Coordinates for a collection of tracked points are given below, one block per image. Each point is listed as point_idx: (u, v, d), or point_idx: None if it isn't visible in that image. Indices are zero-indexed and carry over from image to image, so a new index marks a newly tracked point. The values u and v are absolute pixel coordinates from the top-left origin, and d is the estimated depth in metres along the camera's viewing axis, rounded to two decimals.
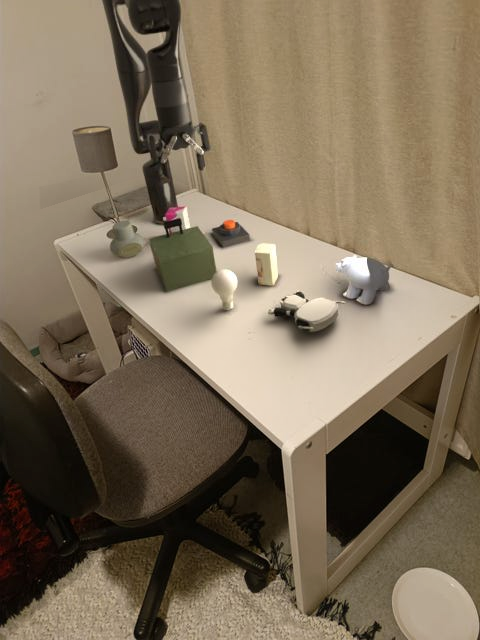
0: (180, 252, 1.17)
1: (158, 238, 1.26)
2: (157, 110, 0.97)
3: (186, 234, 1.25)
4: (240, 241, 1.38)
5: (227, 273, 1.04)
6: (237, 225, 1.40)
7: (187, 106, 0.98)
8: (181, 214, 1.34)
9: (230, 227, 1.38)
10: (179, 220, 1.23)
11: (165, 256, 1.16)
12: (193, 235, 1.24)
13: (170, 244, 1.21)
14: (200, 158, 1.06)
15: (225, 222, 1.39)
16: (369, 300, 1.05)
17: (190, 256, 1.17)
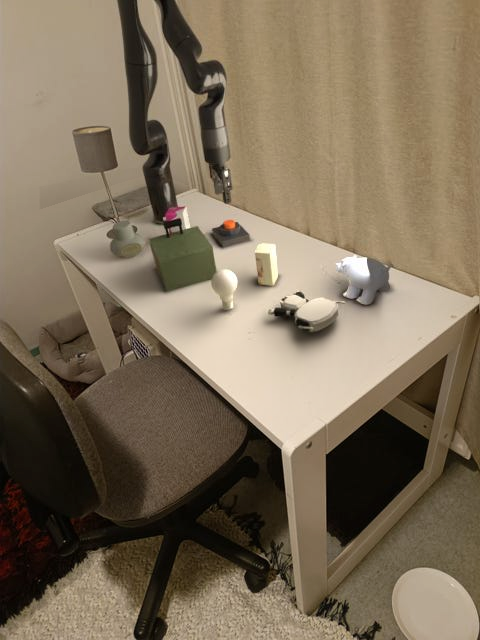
0: (180, 252, 1.17)
1: (158, 238, 1.26)
2: None
3: (186, 234, 1.25)
4: (240, 241, 1.38)
5: (227, 273, 1.04)
6: (237, 225, 1.40)
7: (211, 151, 1.21)
8: (181, 214, 1.34)
9: (230, 227, 1.38)
10: (179, 220, 1.23)
11: (165, 256, 1.16)
12: (193, 235, 1.24)
13: (170, 244, 1.21)
14: (222, 193, 1.28)
15: (225, 222, 1.39)
16: (369, 300, 1.05)
17: (190, 256, 1.17)
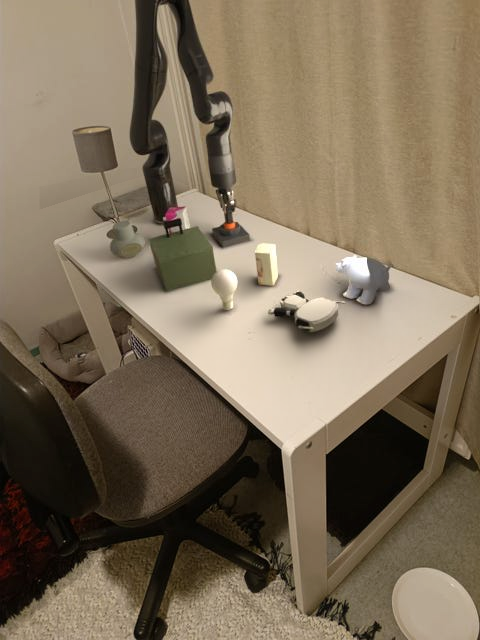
0: (180, 252, 1.17)
1: (158, 238, 1.26)
2: None
3: (186, 234, 1.25)
4: (240, 241, 1.38)
5: (227, 273, 1.04)
6: (237, 225, 1.40)
7: (218, 176, 1.27)
8: (181, 214, 1.34)
9: (230, 228, 1.39)
10: (179, 220, 1.23)
11: (165, 256, 1.16)
12: (193, 235, 1.24)
13: (170, 244, 1.21)
14: (225, 215, 1.37)
15: (225, 223, 1.39)
16: (369, 300, 1.05)
17: (190, 256, 1.17)
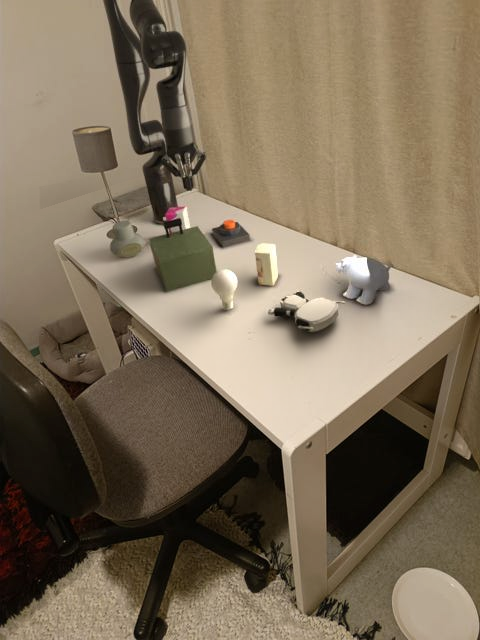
0: (180, 252, 1.17)
1: (158, 238, 1.26)
2: (164, 131, 1.13)
3: (186, 234, 1.25)
4: (240, 241, 1.38)
5: (227, 273, 1.04)
6: (237, 225, 1.40)
7: (188, 130, 1.12)
8: (181, 214, 1.34)
9: (230, 227, 1.38)
10: (179, 220, 1.23)
11: (165, 256, 1.16)
12: (193, 235, 1.24)
13: (170, 244, 1.21)
14: (188, 180, 1.21)
15: (225, 222, 1.39)
16: (369, 300, 1.05)
17: (190, 256, 1.17)
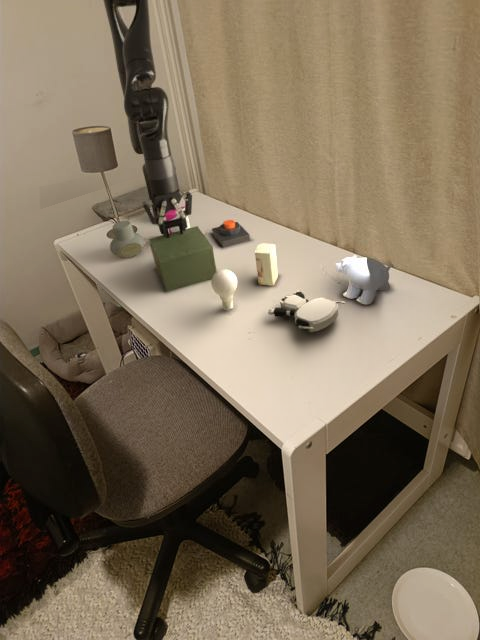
0: (180, 252, 1.17)
1: (158, 238, 1.26)
2: (149, 181, 1.14)
3: (186, 234, 1.25)
4: (240, 241, 1.38)
5: (227, 273, 1.04)
6: (237, 225, 1.40)
7: (175, 177, 1.15)
8: None
9: (230, 227, 1.38)
10: (179, 220, 1.23)
11: (165, 256, 1.16)
12: (193, 235, 1.24)
13: (170, 244, 1.21)
14: (182, 221, 1.23)
15: (225, 222, 1.39)
16: (369, 300, 1.05)
17: (190, 256, 1.17)
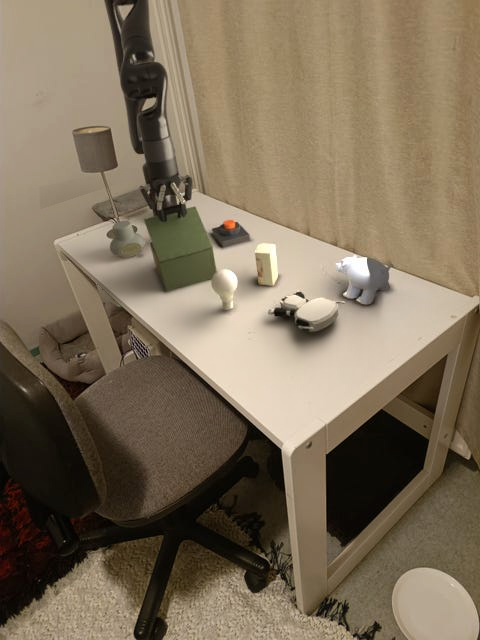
0: (180, 250, 1.17)
1: (154, 219, 1.20)
2: (147, 163, 1.08)
3: (184, 220, 1.21)
4: (240, 241, 1.38)
5: (227, 273, 1.04)
6: (237, 225, 1.40)
7: (174, 160, 1.08)
8: None
9: (230, 227, 1.38)
10: (179, 208, 1.17)
11: (165, 255, 1.16)
12: (192, 223, 1.21)
13: (168, 234, 1.19)
14: (182, 207, 1.17)
15: (225, 222, 1.39)
16: (369, 300, 1.05)
17: (190, 256, 1.17)
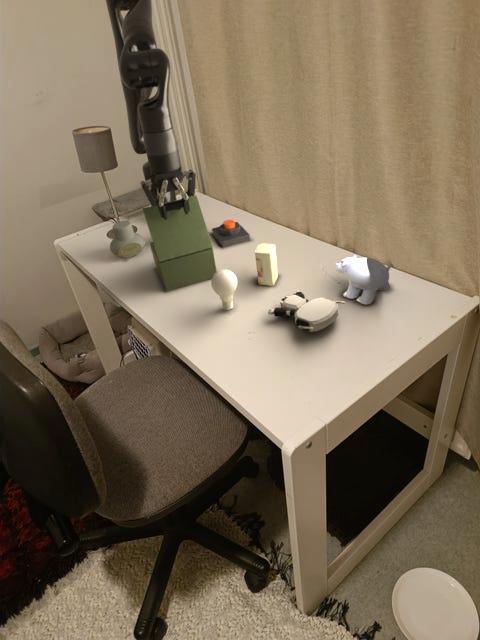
0: (180, 250, 1.16)
1: (154, 210, 1.15)
2: (148, 157, 1.02)
3: (184, 212, 1.17)
4: (240, 241, 1.38)
5: (227, 273, 1.04)
6: (237, 225, 1.40)
7: (177, 153, 1.03)
8: None
9: (230, 227, 1.38)
10: (181, 205, 1.12)
11: (165, 255, 1.15)
12: (192, 217, 1.17)
13: (168, 230, 1.16)
14: (185, 203, 1.12)
15: (225, 222, 1.39)
16: (369, 300, 1.05)
17: (190, 256, 1.17)
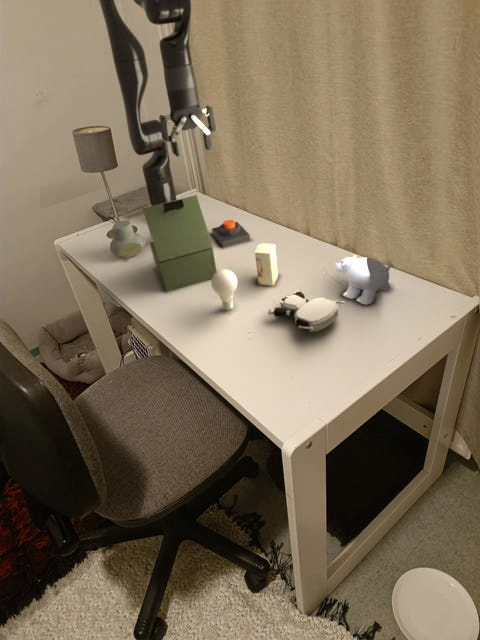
0: (180, 250, 1.16)
1: (154, 210, 1.15)
2: (168, 93, 1.08)
3: (184, 212, 1.17)
4: (240, 241, 1.38)
5: (227, 273, 1.04)
6: (237, 225, 1.40)
7: (195, 90, 1.08)
8: None
9: (230, 227, 1.38)
10: (182, 205, 1.12)
11: (165, 255, 1.15)
12: (192, 216, 1.17)
13: (168, 229, 1.16)
14: (207, 138, 1.17)
15: (225, 222, 1.39)
16: (369, 300, 1.05)
17: (190, 256, 1.17)
